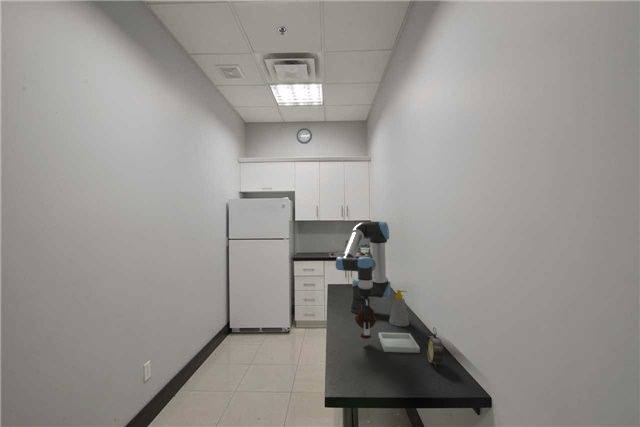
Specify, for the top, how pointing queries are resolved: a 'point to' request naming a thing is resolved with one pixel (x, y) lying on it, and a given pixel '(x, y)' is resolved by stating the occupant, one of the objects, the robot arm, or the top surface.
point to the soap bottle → (399, 311)
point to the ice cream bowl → (360, 319)
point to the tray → (398, 342)
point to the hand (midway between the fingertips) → (365, 330)
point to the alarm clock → (434, 349)
